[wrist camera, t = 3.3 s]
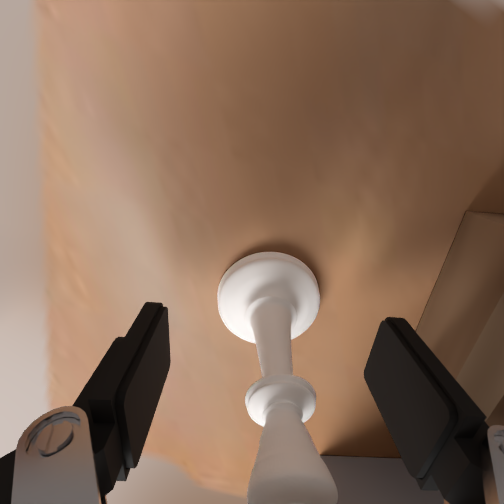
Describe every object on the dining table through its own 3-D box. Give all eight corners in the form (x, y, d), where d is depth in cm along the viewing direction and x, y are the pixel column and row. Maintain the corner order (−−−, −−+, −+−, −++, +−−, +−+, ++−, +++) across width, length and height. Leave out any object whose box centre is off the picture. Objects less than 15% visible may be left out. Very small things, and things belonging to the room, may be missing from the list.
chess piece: (244, 233, 12) (232, 577, 3) (338, 276, 13) (561, 639, 4) (202, 315, 14) (108, 690, 4) (286, 348, 15) (351, 712, 5)
